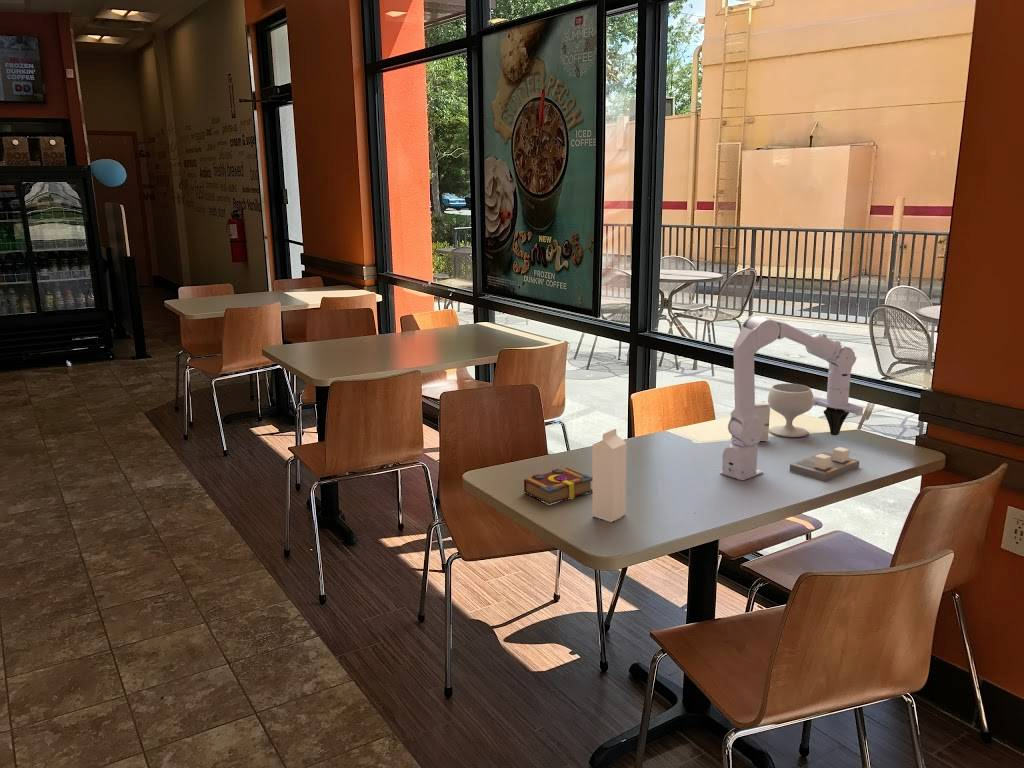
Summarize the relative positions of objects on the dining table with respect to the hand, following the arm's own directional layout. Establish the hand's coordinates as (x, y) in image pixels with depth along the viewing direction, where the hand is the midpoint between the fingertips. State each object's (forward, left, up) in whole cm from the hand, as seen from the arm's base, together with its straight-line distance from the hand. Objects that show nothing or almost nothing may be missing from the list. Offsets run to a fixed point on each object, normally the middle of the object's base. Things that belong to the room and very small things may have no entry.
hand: (834, 434), depth 234 cm
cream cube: (0, -2, -7) cm, 8 cm away
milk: (-74, +15, -10) cm, 76 cm away
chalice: (+18, +27, -10) cm, 34 cm away
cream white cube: (-9, -2, -7) cm, 11 cm away
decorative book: (-72, +35, -10) cm, 81 cm away
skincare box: (+4, +29, -10) cm, 31 cm away
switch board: (-4, 0, -9) cm, 10 cm away
